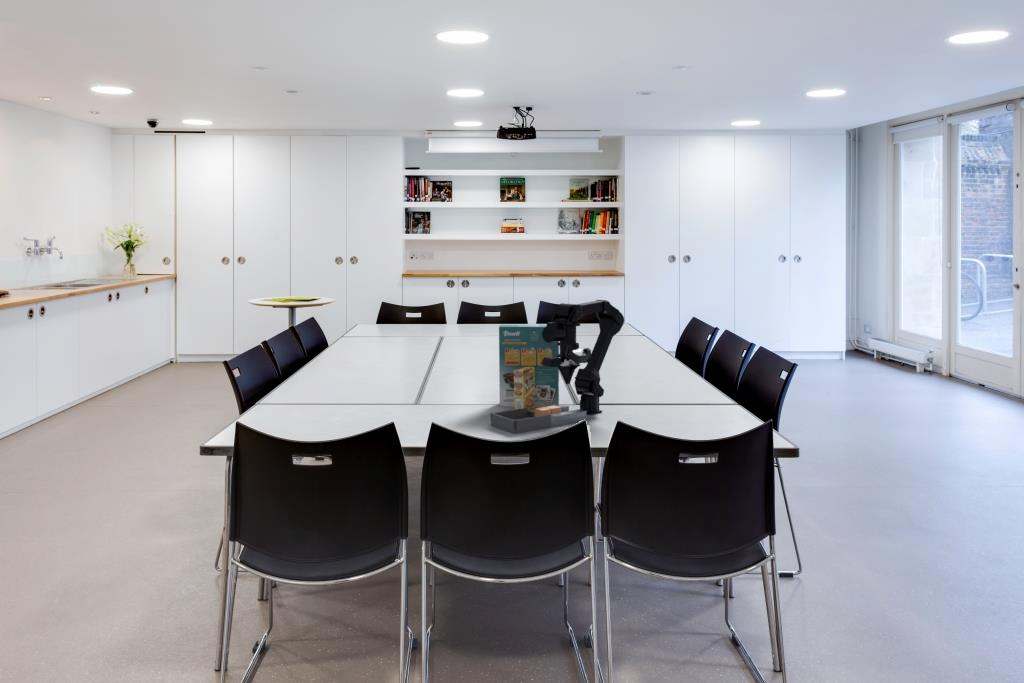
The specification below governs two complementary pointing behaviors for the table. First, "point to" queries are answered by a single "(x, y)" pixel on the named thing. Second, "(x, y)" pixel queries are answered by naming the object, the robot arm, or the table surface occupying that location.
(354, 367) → the table surface
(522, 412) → the tray
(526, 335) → the teal product box
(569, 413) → the slot board
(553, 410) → the chip
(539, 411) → the tan cube
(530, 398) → the candy box
